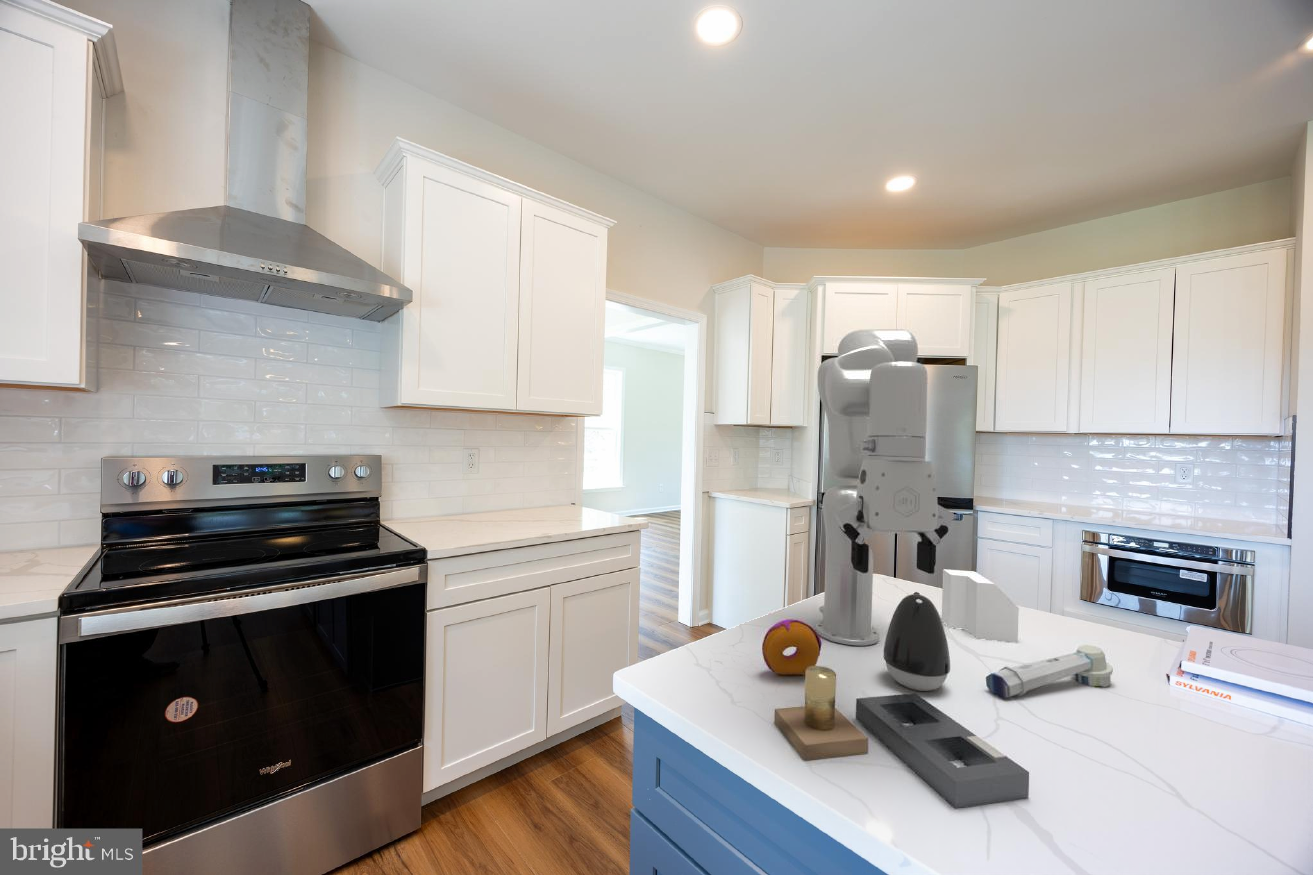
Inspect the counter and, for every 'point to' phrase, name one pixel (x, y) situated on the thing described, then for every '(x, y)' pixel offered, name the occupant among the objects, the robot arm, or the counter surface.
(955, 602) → the corner bracket
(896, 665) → the black egg pod
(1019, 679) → the grey mallet
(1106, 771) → the counter surface
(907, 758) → the rail
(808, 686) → the brass peg
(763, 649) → the donut
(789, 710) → the brown flat square block
